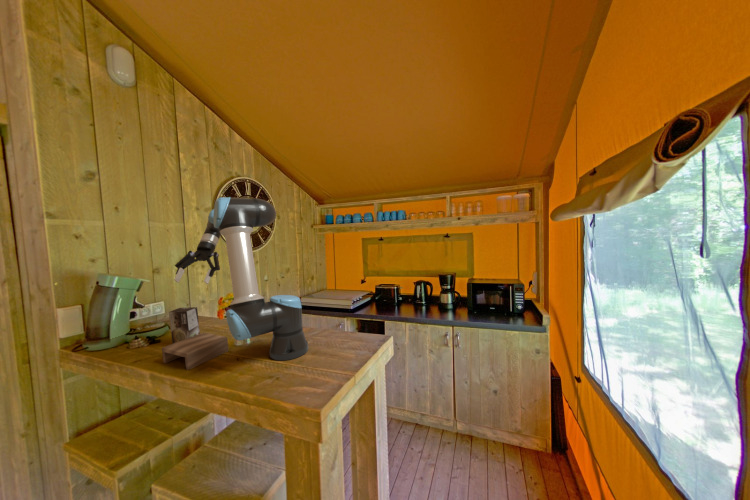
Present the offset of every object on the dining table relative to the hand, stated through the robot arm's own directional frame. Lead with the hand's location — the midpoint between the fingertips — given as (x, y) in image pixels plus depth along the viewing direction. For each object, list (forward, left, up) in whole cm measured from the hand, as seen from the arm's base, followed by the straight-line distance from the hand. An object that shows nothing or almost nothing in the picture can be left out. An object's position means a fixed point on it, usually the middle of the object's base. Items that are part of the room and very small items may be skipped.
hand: (191, 281), depth 123 cm
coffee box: (0, +4, -28) cm, 28 cm away
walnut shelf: (-19, +11, -28) cm, 36 cm away
